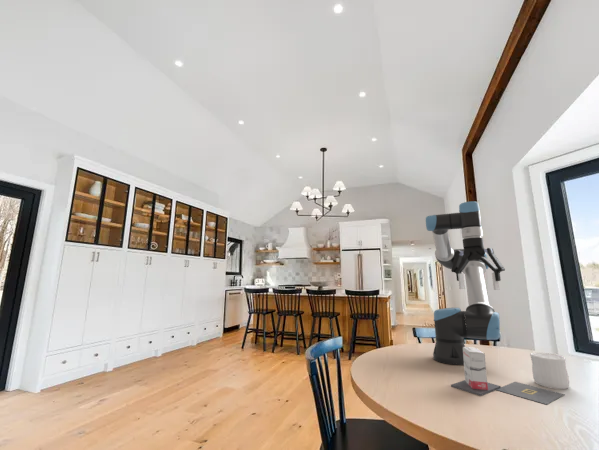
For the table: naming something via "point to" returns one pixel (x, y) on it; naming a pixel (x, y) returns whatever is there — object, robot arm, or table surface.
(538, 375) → the cup
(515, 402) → the table surface
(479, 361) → the ink box
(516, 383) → the slate mat
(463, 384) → the felt pad
